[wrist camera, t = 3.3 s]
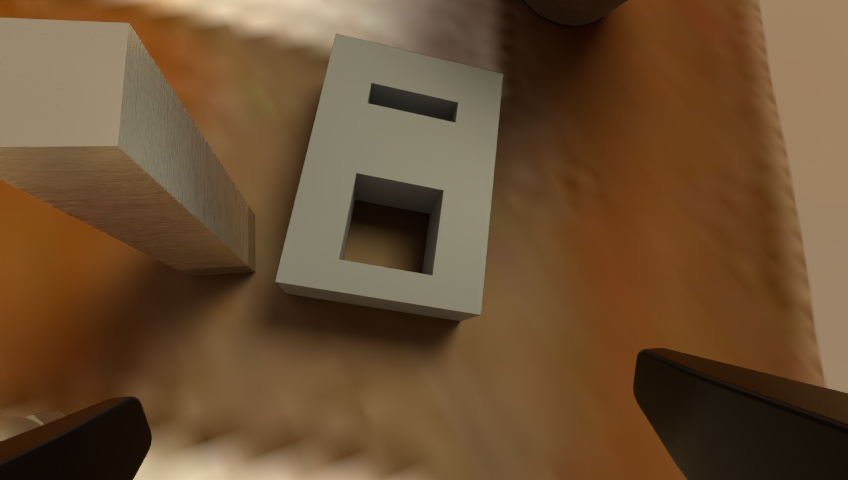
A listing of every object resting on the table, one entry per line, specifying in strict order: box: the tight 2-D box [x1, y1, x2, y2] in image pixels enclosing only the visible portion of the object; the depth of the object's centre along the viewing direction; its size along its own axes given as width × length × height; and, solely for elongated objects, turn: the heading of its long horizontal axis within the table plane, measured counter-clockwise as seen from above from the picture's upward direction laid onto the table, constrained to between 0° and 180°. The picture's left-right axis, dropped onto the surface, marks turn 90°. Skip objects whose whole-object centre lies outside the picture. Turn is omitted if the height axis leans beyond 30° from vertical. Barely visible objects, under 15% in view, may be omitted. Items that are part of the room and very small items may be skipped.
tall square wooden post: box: [0, 18, 255, 276], centre depth 15 cm, size 3×3×13 cm
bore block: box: [275, 34, 503, 321], centre depth 21 cm, size 13×9×4 cm
